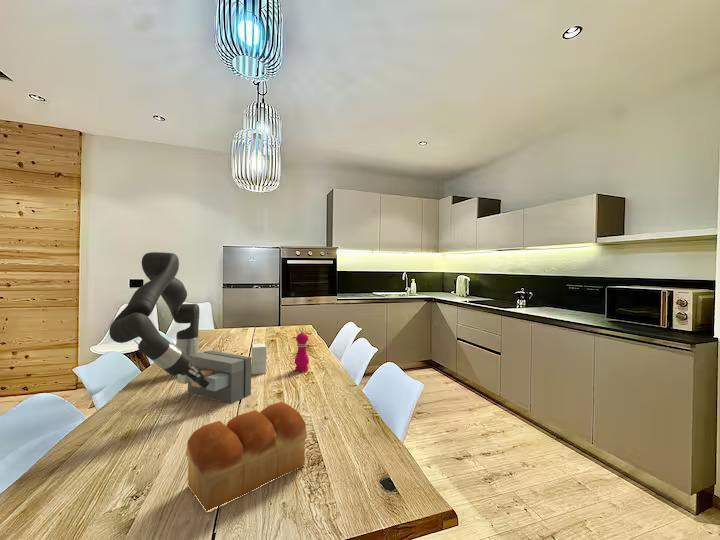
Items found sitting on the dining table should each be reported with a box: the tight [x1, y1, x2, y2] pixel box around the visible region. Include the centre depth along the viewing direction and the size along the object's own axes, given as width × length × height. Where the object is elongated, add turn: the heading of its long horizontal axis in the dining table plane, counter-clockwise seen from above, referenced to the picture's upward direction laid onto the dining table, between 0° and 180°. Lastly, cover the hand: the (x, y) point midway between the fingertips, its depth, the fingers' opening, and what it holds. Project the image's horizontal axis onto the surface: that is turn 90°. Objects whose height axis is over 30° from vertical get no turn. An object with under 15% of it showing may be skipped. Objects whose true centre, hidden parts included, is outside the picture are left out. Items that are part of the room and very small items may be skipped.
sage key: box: [176, 366, 200, 385], centre depth 128 cm, size 4×8×4 cm, turn 155°
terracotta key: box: [191, 369, 214, 388], centre depth 125 cm, size 4×8×4 cm, turn 155°
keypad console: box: [187, 349, 252, 405], centre depth 131 cm, size 24×10×15 cm, turn 65°
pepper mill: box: [294, 329, 310, 372], centre depth 164 cm, size 7×7×20 cm
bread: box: [185, 401, 308, 511], centre depth 80 cm, size 25×12×15 cm, turn 135°
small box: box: [251, 342, 267, 376], centre depth 160 cm, size 8×6×13 cm
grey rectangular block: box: [206, 372, 229, 391], centre depth 121 cm, size 4×8×4 cm, turn 155°
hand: (206, 385), depth 116 cm, fingers closed
